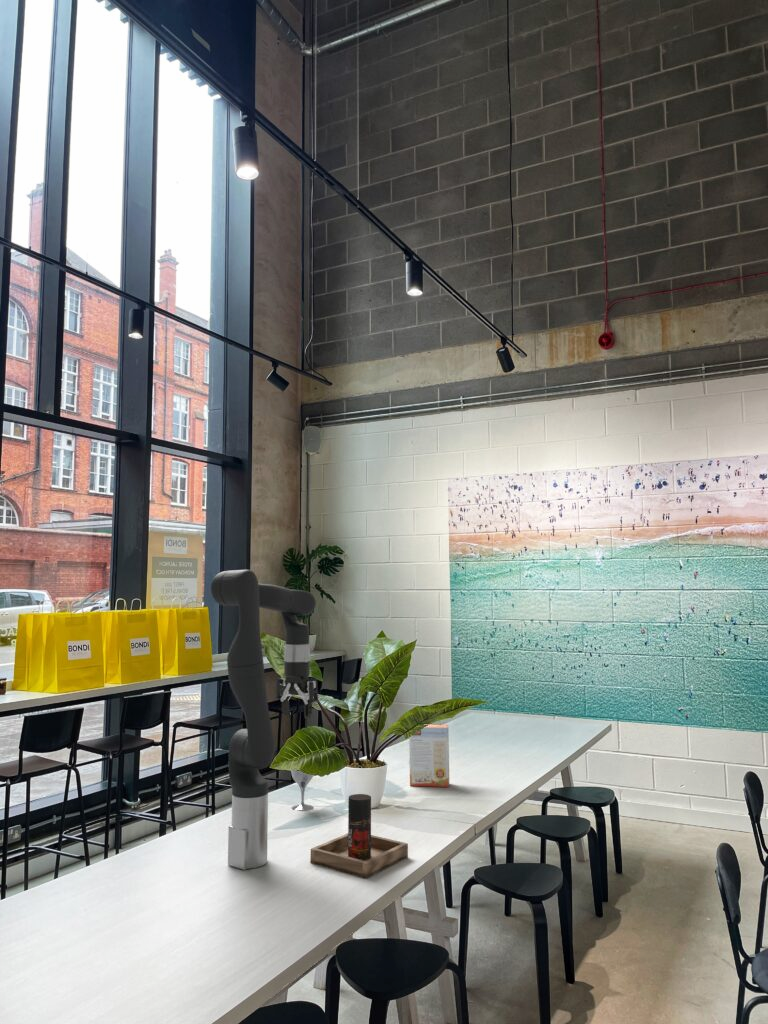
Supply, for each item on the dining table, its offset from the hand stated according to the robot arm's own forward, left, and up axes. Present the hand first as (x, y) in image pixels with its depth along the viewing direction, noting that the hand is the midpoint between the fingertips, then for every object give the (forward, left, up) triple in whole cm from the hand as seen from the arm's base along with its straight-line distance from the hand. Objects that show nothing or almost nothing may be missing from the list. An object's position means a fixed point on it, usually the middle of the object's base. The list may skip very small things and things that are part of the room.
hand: (296, 716), depth 220 cm
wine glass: (+21, +16, -33) cm, 43 cm away
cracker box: (+69, -2, -33) cm, 77 cm away
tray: (-6, -28, -33) cm, 44 cm away
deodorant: (-6, -28, -32) cm, 43 cm away
